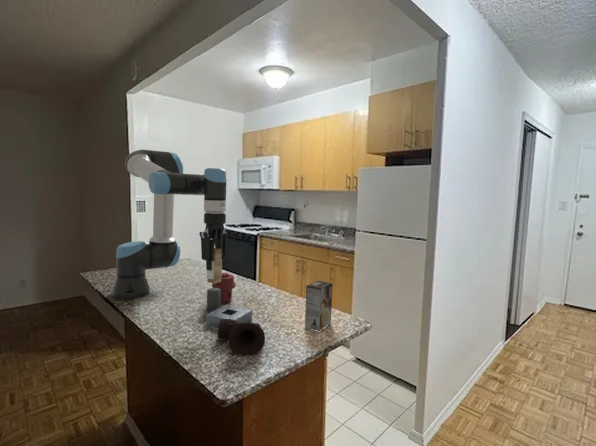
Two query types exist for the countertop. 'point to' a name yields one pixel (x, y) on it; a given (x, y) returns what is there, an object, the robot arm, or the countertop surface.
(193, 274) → the countertop surface
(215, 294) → the gray capsule
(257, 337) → the pipe
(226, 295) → the mechanical component
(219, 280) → the oak peg
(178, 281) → the countertop surface
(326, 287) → the coffee box
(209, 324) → the socket block
